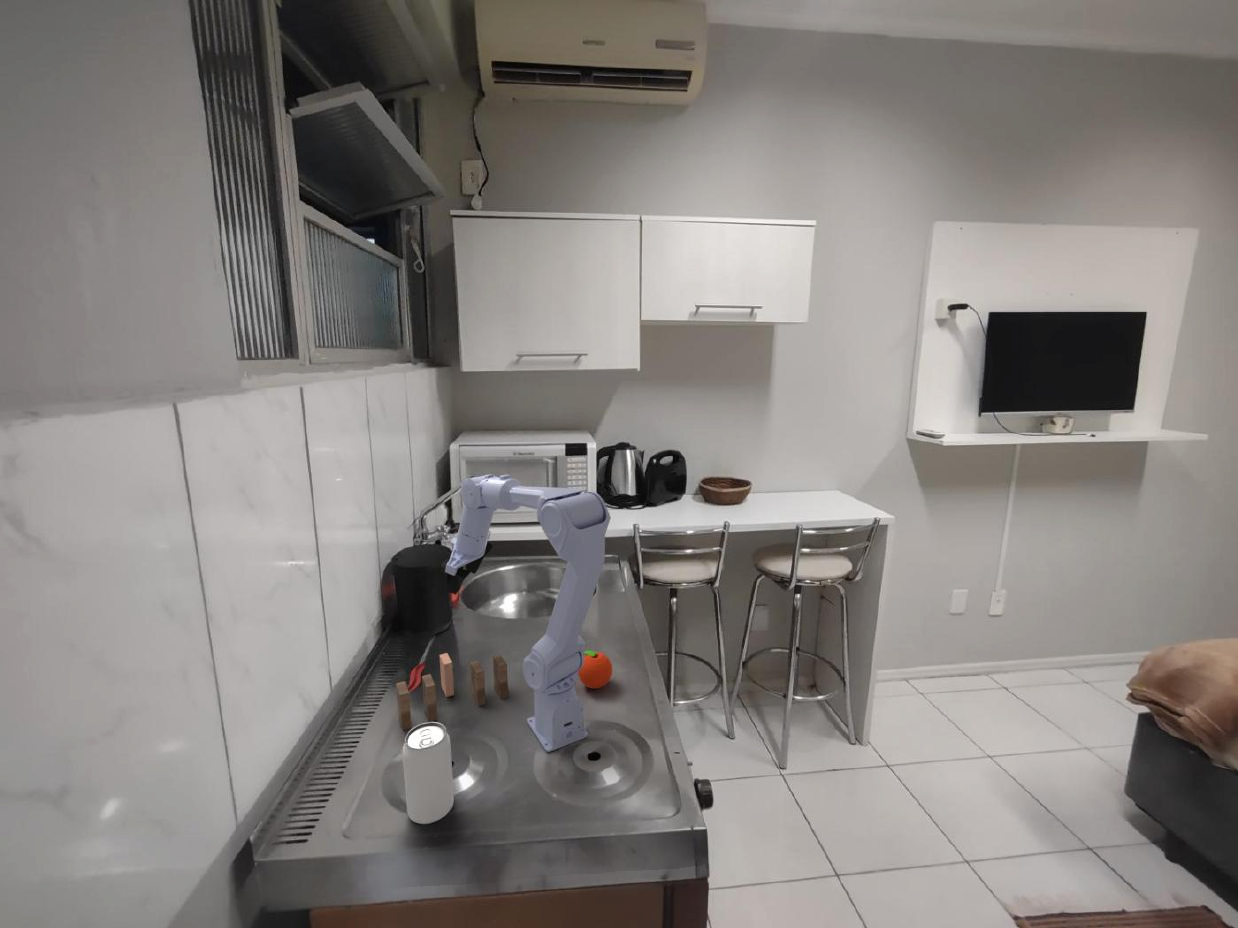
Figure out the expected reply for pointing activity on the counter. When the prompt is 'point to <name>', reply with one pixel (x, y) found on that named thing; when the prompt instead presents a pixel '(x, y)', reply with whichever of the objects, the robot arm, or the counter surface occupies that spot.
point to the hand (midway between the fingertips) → (462, 581)
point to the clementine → (595, 670)
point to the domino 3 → (446, 675)
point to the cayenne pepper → (415, 677)
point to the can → (428, 773)
